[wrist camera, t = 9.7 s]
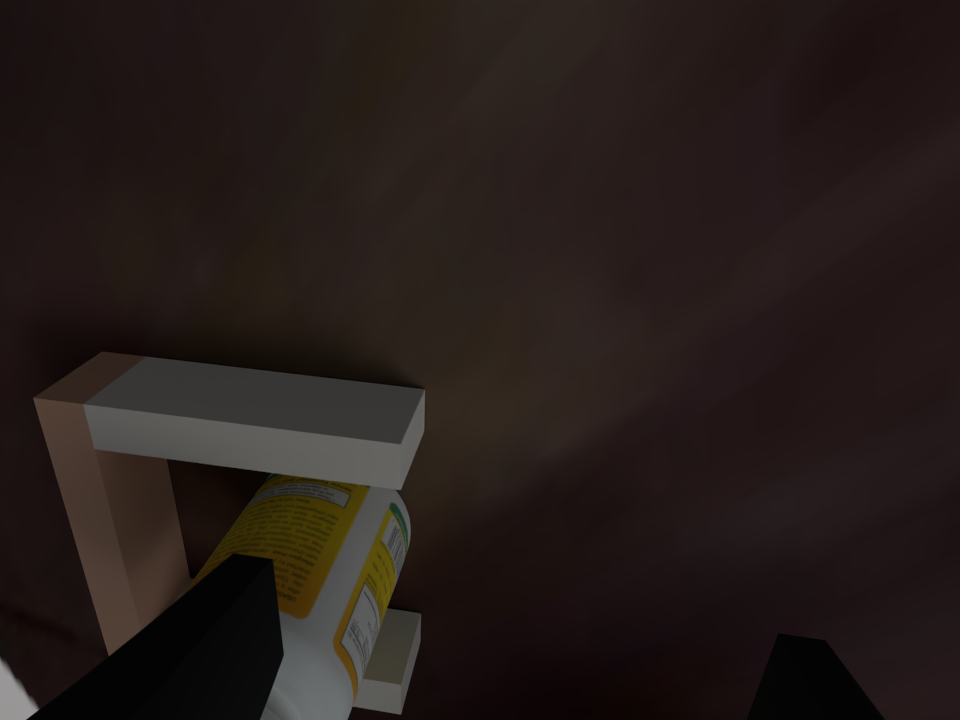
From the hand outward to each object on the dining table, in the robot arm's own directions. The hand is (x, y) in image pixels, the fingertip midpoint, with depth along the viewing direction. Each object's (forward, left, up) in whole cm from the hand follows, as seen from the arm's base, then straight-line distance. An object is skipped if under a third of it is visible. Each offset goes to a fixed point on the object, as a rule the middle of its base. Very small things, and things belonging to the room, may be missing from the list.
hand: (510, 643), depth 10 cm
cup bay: (-8, +8, -10) cm, 15 cm away
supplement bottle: (-7, +7, -11) cm, 14 cm away
